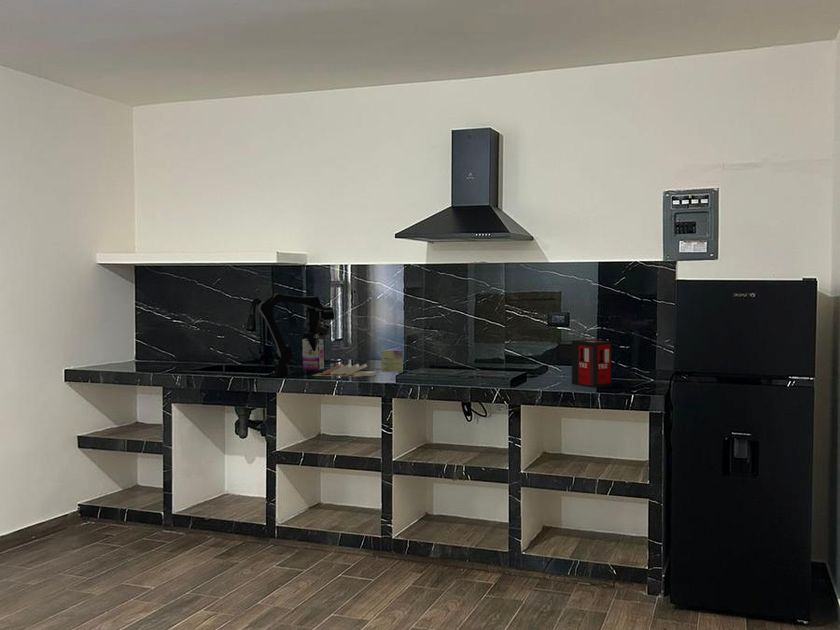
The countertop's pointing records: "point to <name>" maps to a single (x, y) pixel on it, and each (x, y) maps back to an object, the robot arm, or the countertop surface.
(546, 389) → the countertop surface
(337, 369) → the domino
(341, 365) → the domino
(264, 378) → the countertop surface
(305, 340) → the candy bar box
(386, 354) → the box
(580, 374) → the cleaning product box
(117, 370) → the countertop surface
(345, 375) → the domino board
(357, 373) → the domino
